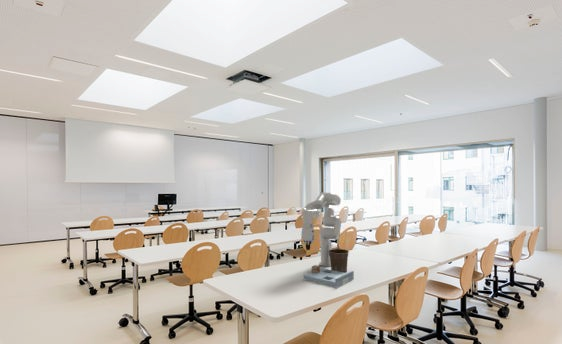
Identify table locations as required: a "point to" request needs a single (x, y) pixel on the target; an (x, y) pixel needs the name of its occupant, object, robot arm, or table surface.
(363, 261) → the table surface
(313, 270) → the walnut cube
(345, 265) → the plant pot
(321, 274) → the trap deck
